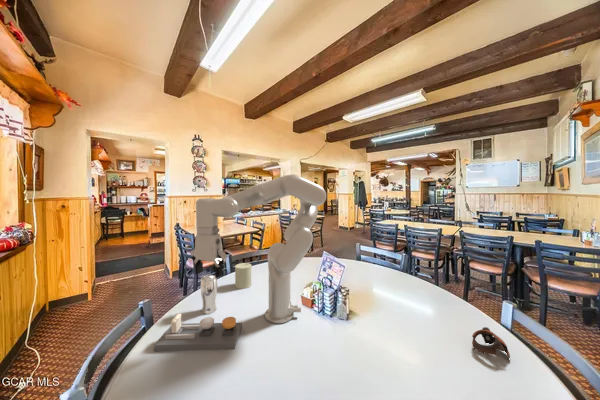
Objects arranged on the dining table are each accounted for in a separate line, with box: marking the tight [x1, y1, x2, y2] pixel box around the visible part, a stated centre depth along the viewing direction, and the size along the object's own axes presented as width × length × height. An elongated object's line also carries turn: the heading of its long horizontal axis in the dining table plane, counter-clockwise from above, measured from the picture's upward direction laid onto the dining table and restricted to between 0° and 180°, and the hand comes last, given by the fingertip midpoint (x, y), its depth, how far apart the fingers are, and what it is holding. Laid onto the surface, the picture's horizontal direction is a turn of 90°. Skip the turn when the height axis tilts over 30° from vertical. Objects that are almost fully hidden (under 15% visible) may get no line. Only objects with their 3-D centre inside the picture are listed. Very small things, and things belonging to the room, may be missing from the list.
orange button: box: [221, 316, 237, 329], centre depth 82 cm, size 5×5×3 cm
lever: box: [170, 312, 183, 334], centre depth 81 cm, size 3×5×6 cm, turn 3°
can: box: [234, 262, 253, 290], centre depth 127 cm, size 9×9×12 cm
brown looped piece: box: [471, 326, 511, 359], centre depth 77 cm, size 12×10×8 cm
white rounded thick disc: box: [199, 316, 215, 330], centre depth 82 cm, size 5×5×3 cm
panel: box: [153, 322, 243, 352], centre depth 82 cm, size 27×12×3 cm, turn 93°
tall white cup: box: [200, 274, 218, 315], centre depth 100 cm, size 7×7×15 cm
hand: (208, 274), depth 85 cm, fingers open, 9 cm apart
